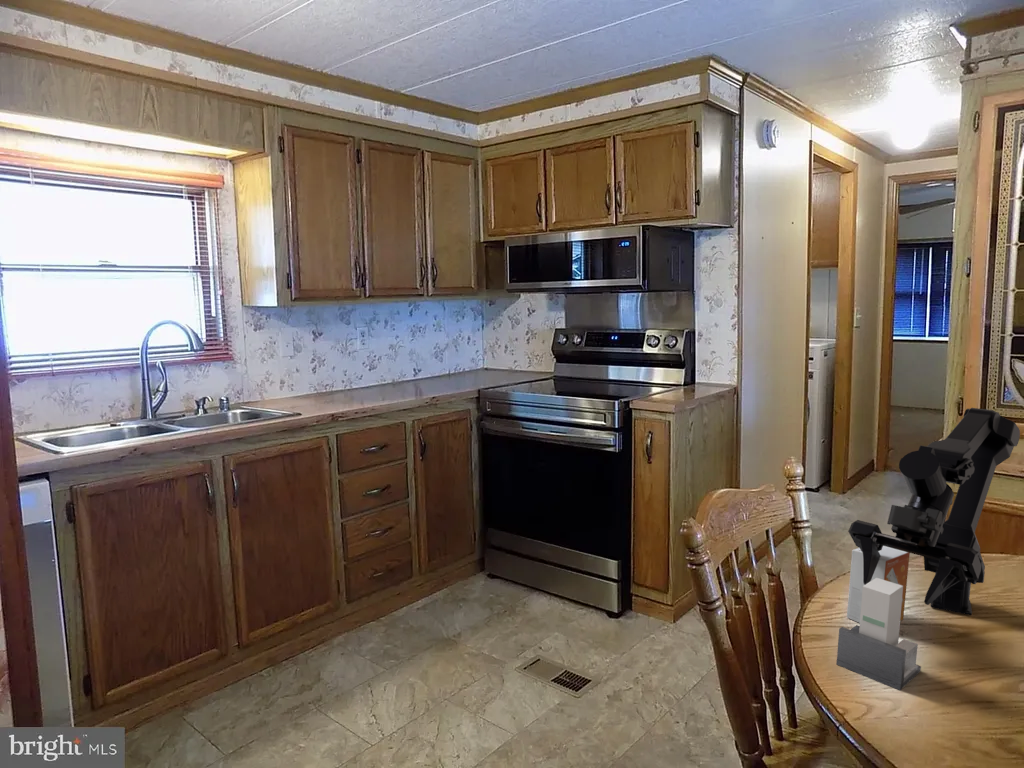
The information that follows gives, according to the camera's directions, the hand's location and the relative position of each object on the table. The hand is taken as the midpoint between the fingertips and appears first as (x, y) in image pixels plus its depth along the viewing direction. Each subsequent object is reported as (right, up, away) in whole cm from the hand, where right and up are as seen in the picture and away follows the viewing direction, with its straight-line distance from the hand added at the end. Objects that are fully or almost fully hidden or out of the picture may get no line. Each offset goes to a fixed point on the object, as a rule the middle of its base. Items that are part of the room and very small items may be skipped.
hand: (894, 593), depth 113 cm
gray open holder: (-4, -11, -2) cm, 12 cm away
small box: (+4, -9, +14) cm, 17 cm away
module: (-4, -10, -2) cm, 11 cm away
